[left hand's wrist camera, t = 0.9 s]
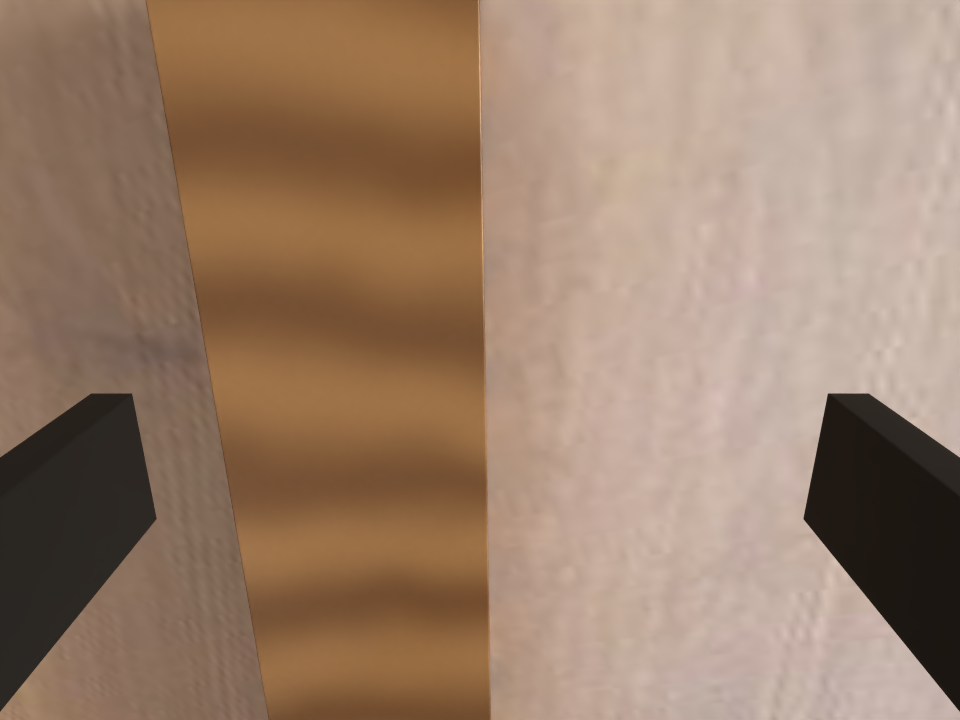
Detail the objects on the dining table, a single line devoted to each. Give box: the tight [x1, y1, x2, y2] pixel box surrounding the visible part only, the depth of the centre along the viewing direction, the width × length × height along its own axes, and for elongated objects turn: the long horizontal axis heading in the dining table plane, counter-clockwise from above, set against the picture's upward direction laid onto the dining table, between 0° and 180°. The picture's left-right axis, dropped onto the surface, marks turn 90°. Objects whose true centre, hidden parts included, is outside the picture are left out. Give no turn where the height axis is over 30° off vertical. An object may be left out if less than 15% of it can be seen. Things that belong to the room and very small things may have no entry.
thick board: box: [146, 0, 491, 720], centre depth 31 cm, size 57×10×7 cm, turn 1°
